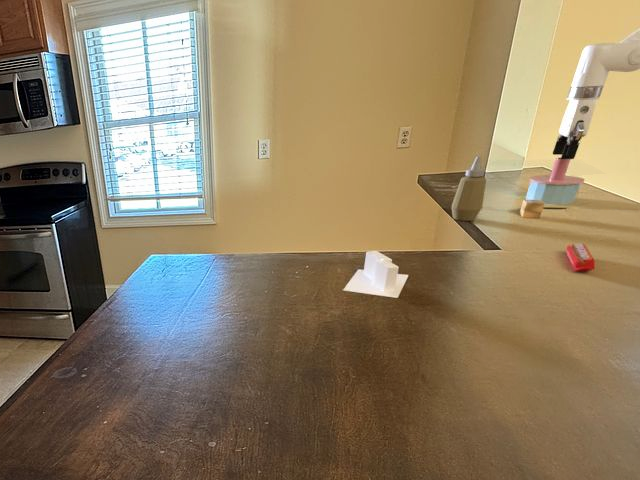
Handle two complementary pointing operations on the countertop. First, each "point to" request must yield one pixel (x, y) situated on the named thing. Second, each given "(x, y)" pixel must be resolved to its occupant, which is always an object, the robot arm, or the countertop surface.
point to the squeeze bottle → (470, 193)
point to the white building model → (377, 277)
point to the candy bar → (580, 257)
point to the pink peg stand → (558, 175)
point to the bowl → (553, 193)
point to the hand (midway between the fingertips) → (562, 156)
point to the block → (531, 208)
